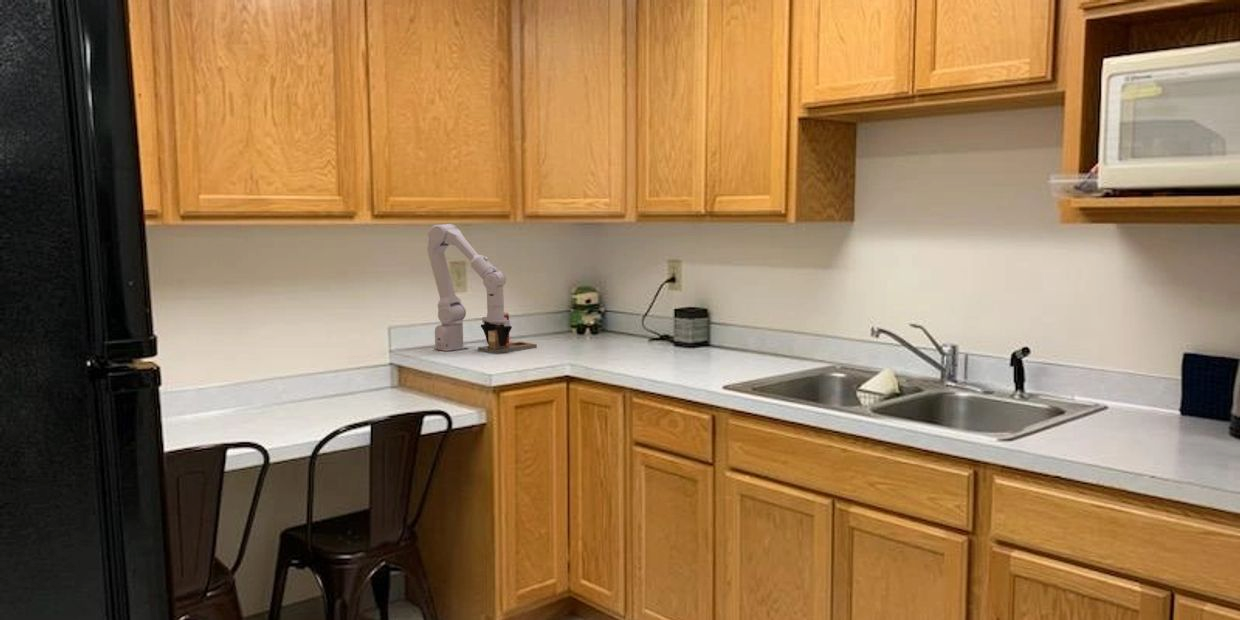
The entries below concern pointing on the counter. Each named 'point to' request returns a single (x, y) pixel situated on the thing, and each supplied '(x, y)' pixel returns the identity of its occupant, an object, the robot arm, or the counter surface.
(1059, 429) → the counter surface
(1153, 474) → the counter surface
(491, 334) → the birch peg
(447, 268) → the robot arm
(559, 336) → the counter surface
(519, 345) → the rail plate
